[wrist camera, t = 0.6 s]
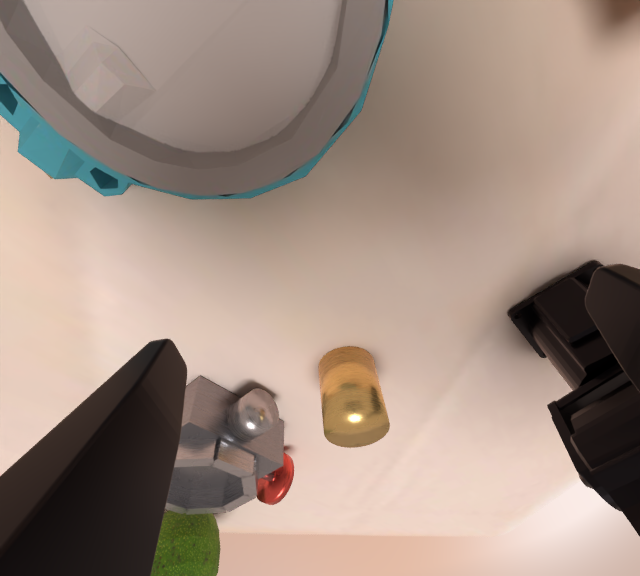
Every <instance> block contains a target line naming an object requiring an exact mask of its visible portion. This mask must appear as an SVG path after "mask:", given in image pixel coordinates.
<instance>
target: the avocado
mask: <svg viewBox="0 0 640 576" xmlns="http://www.w3.org/2000/svg"><path fill="white" fill-rule="evenodd" d="M219 555H220V541H219V529H218V526H217V522H216V519H215V517H214V515H213V514H212V513H208V514H190V515H186V513H183V514H180V513H176V512H173V511H170V510H169V511H167V512H166V513H164V516H163V521H162V525H161V530H160V535H159V539H158V544H157V548H156V553H155V558H154V562H153V567H152V571H151V576H216V575H217V573H218V566H219Z"/></svg>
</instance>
